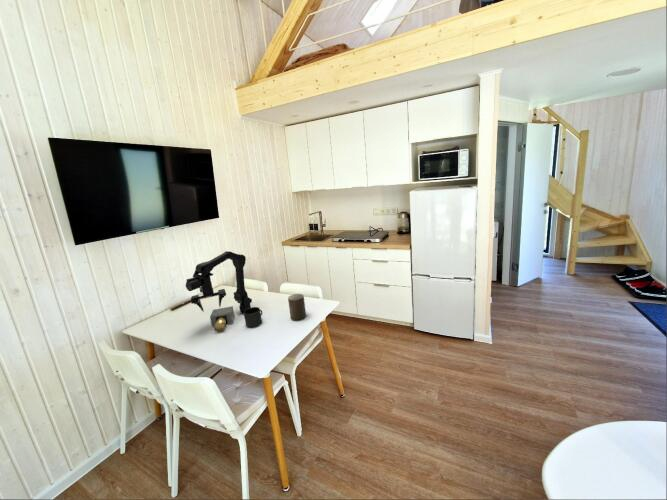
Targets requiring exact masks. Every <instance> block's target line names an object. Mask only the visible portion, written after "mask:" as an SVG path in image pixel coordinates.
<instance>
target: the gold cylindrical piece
mask: <svg viewBox="0 0 667 500" xmlns="http://www.w3.org/2000/svg"><path fill="white" fill-rule="evenodd" d="M226 320H227V317H226V315H225V316H220V317H218V319H217V322H216V324H215V326H214V328H213V329H214V331H215V333H222V332H223V331H224V330H225V328H226V325H225V324H226Z"/></svg>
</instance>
